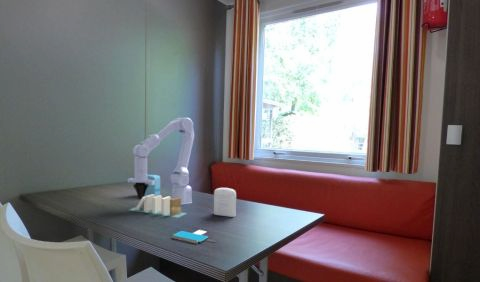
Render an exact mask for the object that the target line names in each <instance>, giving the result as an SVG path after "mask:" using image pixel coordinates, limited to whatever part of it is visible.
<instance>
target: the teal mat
mask: <svg viewBox="0 0 480 282" xmlns="http://www.w3.org/2000/svg"><path fill="white" fill-rule="evenodd" d="M136 207H137V206H135V207H132V208H130V209H128V211H133V212H140V213H145V214H146V213H147V214H151V215H159V216H165V217H171V218H181V217H182V216H185V215H187V214H188V213H186V212H182V211H181V213H180V214H177V215H174V216H171V215H170V212H169V213H167V214H164V215H163V214H161V211H159V212H157V213H152V210H150V211H147V212H145V211H144V208H143V209H141V210H137V209H136Z"/></svg>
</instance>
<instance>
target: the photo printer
mask: <svg viewBox="0 0 480 282" xmlns="http://www.w3.org/2000/svg"><path fill="white" fill-rule="evenodd" d="M236 191H237V190H235V189H233V188H229V187H218V188H216V189H214V192H213V215H214V216H221V217H222V216H223V217H228V218H230V217H231V218H234V217H236V215H237V214H236V213H237V211H236V210H237V192H236Z"/></svg>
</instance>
